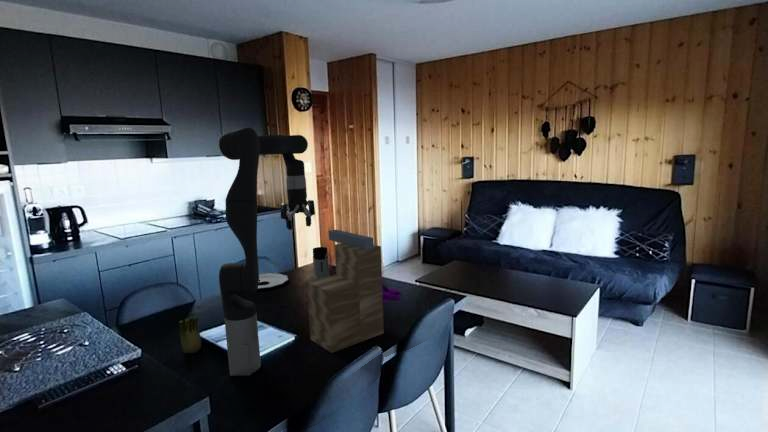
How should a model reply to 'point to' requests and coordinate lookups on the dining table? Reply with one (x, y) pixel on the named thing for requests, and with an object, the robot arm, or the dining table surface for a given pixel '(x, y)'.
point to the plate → (272, 280)
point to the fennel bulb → (190, 335)
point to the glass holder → (321, 262)
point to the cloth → (389, 294)
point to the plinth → (347, 299)
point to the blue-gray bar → (351, 239)
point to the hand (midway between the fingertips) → (299, 227)
